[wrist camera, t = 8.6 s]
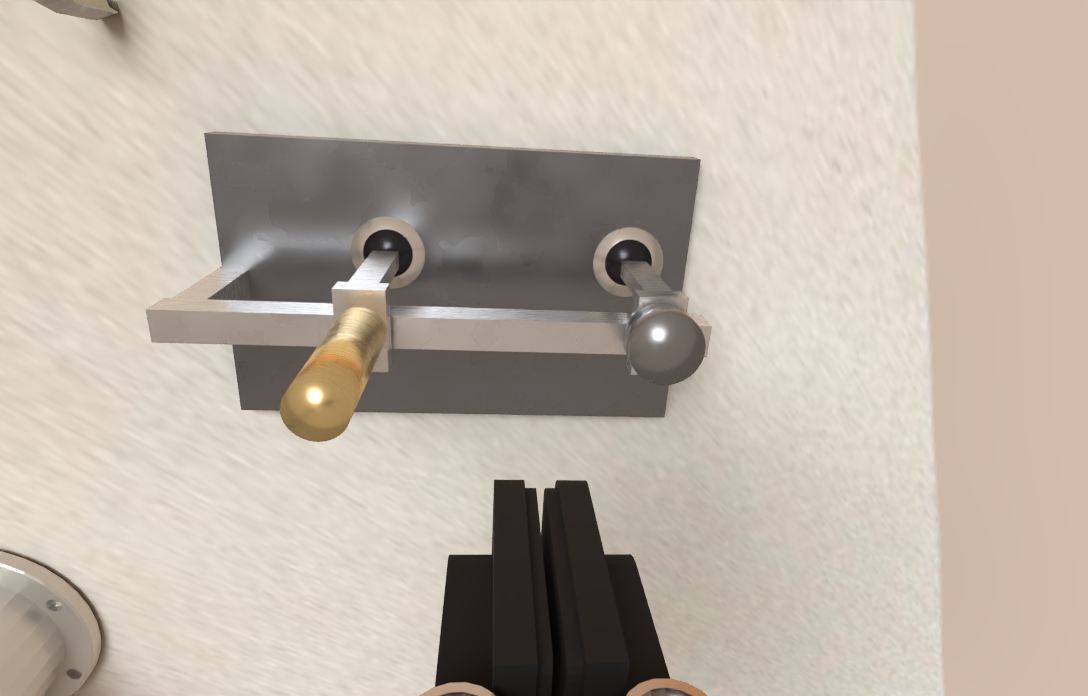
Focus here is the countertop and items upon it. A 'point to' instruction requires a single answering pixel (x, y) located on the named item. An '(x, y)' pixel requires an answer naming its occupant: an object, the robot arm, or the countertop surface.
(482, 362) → the hole plate
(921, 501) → the countertop surface
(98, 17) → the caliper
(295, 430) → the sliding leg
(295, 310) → the divider frame
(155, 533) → the countertop surface
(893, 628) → the countertop surface
